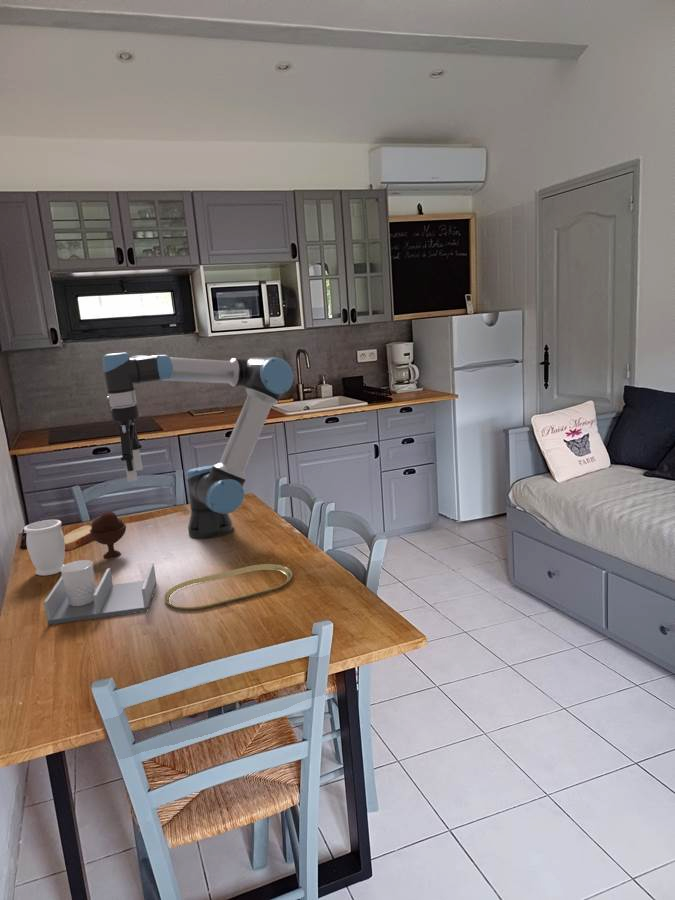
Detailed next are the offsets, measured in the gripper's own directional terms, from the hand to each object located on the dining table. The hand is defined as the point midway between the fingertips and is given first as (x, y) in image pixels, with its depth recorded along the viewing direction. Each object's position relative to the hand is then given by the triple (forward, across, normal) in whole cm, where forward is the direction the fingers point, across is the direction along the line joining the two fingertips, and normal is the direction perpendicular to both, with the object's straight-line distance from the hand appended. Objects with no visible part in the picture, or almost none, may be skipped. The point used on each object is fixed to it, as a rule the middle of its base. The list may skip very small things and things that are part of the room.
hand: (135, 475), depth 190 cm
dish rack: (+27, +28, -9) cm, 40 cm away
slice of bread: (+28, -31, -26) cm, 49 cm away
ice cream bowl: (+28, -9, -13) cm, 32 cm away
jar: (+27, -3, -30) cm, 41 cm away
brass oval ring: (+29, +30, +24) cm, 48 cm away
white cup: (+26, +27, -15) cm, 40 cm away
